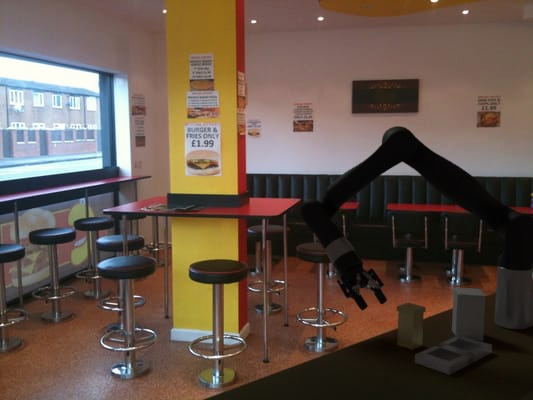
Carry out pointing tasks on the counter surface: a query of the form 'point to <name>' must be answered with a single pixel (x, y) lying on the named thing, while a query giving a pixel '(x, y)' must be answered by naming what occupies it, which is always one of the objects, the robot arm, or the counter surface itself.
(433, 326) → the counter surface
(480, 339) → the supplement box
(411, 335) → the brown square post
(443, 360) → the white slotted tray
